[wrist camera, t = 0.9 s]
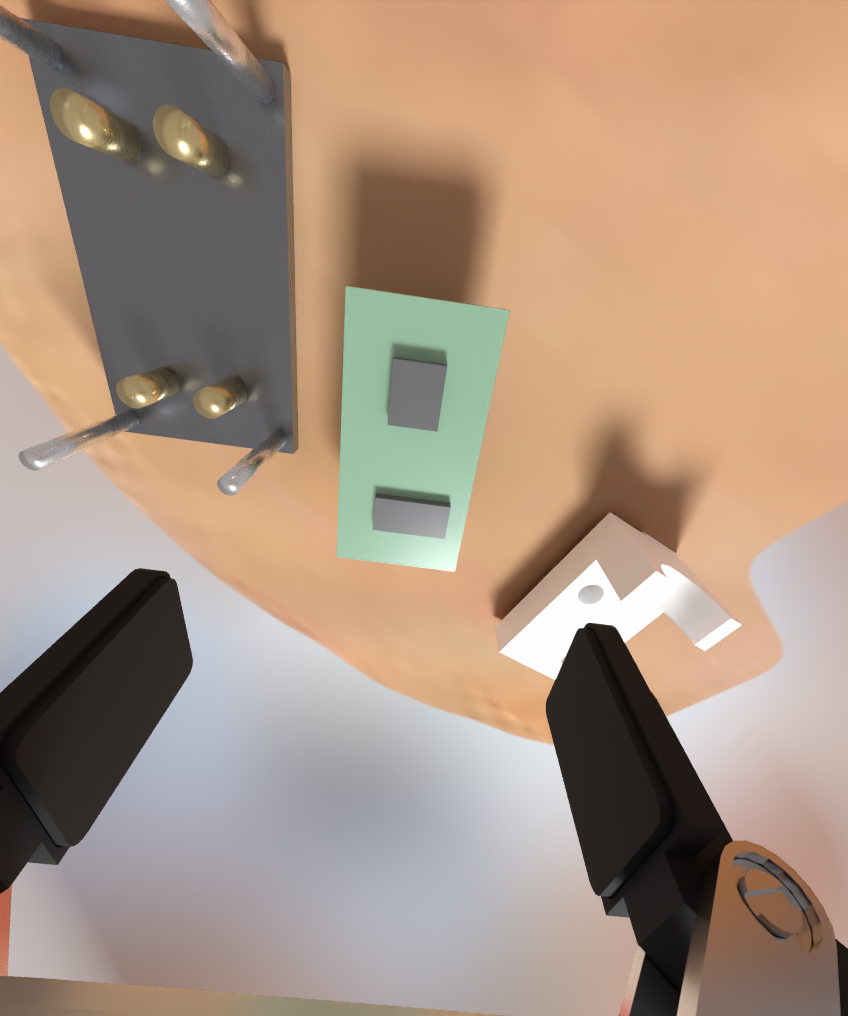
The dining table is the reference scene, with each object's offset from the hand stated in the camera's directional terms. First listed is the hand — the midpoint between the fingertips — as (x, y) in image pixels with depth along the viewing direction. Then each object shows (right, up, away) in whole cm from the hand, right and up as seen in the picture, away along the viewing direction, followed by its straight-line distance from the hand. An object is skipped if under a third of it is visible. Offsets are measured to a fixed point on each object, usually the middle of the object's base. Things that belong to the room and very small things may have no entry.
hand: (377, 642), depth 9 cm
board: (0, +7, +12) cm, 14 cm away
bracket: (+13, -3, +23) cm, 26 cm away
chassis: (-12, +16, +13) cm, 23 cm away
